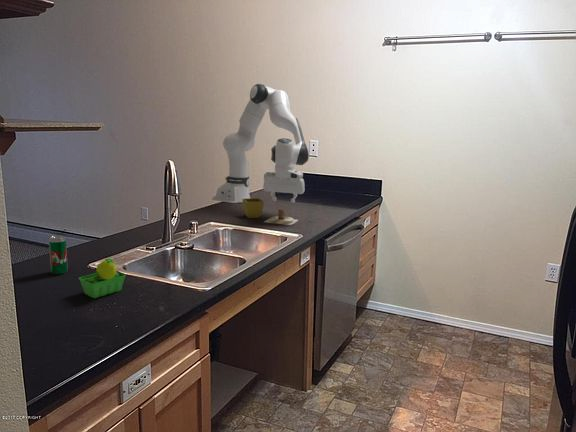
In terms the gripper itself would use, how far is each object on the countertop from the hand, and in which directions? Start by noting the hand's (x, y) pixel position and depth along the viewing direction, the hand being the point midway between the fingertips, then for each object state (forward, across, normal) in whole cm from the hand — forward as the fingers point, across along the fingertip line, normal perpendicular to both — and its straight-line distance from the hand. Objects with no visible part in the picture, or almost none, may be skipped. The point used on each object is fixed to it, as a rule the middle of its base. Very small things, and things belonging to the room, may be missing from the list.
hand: (283, 201), depth 236 cm
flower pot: (+10, -17, +2) cm, 20 cm away
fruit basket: (+10, -20, -107) cm, 109 cm away
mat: (+10, -1, 0) cm, 10 cm away
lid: (+10, -1, 0) cm, 10 cm away
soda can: (+10, -44, -99) cm, 109 cm away
